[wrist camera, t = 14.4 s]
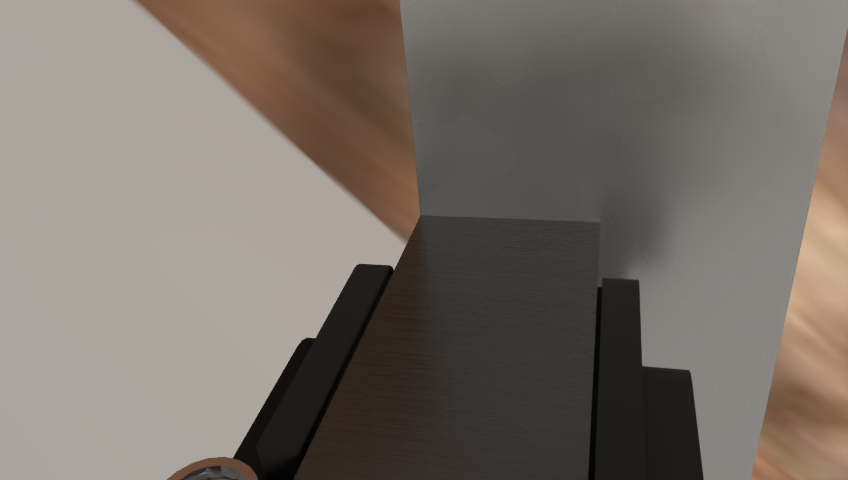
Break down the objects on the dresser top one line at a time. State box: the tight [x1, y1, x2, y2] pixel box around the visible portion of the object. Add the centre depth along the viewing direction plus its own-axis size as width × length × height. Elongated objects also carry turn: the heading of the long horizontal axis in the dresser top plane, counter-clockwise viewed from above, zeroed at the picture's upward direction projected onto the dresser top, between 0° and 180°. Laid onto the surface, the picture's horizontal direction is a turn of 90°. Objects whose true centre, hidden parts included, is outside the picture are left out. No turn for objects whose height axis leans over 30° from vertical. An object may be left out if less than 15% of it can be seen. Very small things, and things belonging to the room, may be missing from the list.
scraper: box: [293, 0, 848, 480], centre depth 9 cm, size 6×14×9 cm, turn 6°
